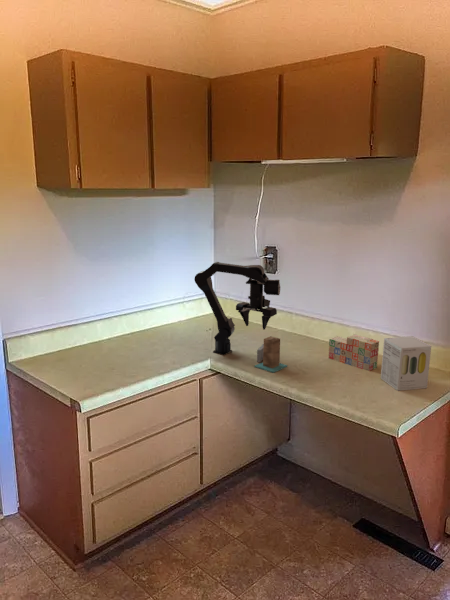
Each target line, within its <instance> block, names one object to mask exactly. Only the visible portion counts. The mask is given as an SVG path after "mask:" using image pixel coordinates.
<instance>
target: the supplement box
mask: <svg viewBox="0 0 450 600" xmlns="http://www.w3.org/2000/svg"><path fill="white" fill-rule="evenodd" d="M431 351H432V345H431V344H428V343H427V342H424V341H423V340H421V339H419V338H417V337H415V336H412V335H411V336H397V337H384V338H383V348H382V359H381V371H380V379H381V380H382V381H383V382H385V383H387V384H388V386H391V387H392V388H393V389H394V390H396V391H409V390H410V391H411V390H419V389H427V388H428V382H429V381H428V380H429V371H430V362H431V361H430V360H431V355H432V354H431V353H432V352H431Z"/></svg>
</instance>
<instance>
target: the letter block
mask: <svg viewBox="0 0 450 600" xmlns="http://www.w3.org/2000/svg"><path fill="white" fill-rule="evenodd" d="M263 344H264V346H263V360H262V362H263V366H266V367H269V368H275V367H277V366H279V363H280V359H281V358H280V355H281V353H280V352H281V338H279V337H275V336H272V335H271V336H268V337H265V338H263Z"/></svg>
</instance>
